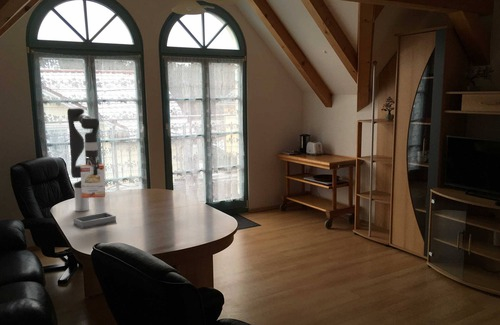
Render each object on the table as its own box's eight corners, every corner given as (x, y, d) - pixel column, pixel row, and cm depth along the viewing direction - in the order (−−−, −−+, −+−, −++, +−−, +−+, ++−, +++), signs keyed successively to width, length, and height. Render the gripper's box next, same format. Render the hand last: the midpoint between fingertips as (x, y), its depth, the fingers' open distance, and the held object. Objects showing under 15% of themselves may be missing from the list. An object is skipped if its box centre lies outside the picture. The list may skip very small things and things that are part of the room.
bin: (73, 224, 267) (73, 218, 267) (106, 217, 282) (106, 212, 282) (82, 228, 257) (82, 222, 257) (115, 221, 272) (115, 215, 272)
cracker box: (81, 198, 263) (79, 165, 260) (82, 196, 269) (81, 164, 266) (105, 197, 267) (103, 165, 264) (105, 195, 272) (104, 163, 270)
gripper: (80, 148, 266) (82, 173, 268) (90, 150, 256) (91, 176, 258) (92, 148, 271) (93, 172, 273) (102, 149, 261) (103, 175, 263)
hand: (92, 174), depth 266 cm, fingers closed on cracker box, 8 cm apart
